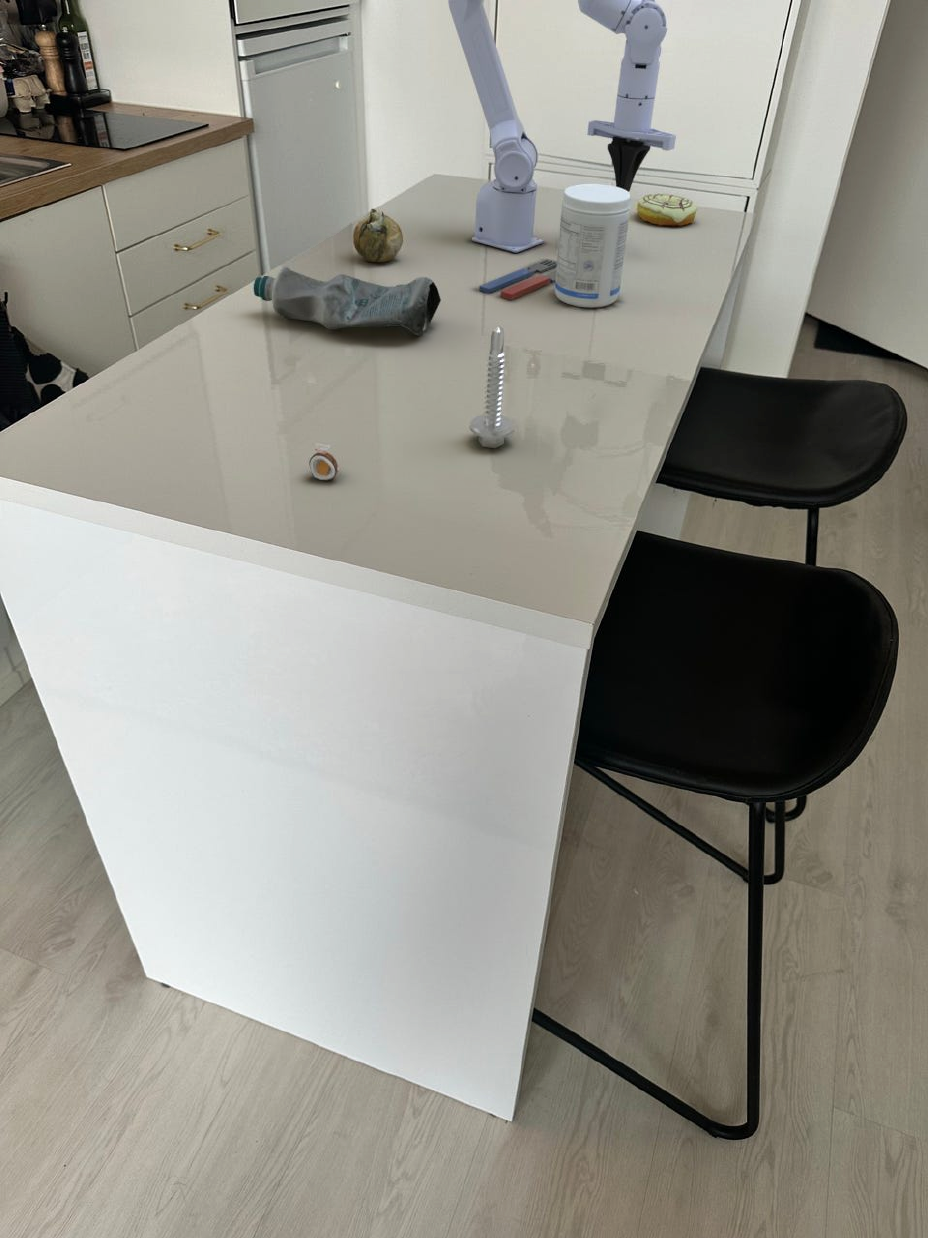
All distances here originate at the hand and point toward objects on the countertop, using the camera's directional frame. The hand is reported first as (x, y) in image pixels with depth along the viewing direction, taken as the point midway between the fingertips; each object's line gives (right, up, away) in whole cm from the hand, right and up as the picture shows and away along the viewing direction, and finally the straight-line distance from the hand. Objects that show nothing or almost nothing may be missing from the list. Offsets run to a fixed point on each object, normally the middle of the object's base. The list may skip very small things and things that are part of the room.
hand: (623, 191), depth 148 cm
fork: (-17, -16, -6) cm, 24 cm away
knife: (-13, -17, -7) cm, 23 cm away
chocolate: (-39, -55, -55) cm, 87 cm away
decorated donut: (+11, +5, +22) cm, 25 cm away
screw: (-23, -50, -48) cm, 73 cm away
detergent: (-42, -29, -23) cm, 56 cm away
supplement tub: (-8, -21, -12) cm, 26 cm away
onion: (-39, -12, -2) cm, 41 cm away
